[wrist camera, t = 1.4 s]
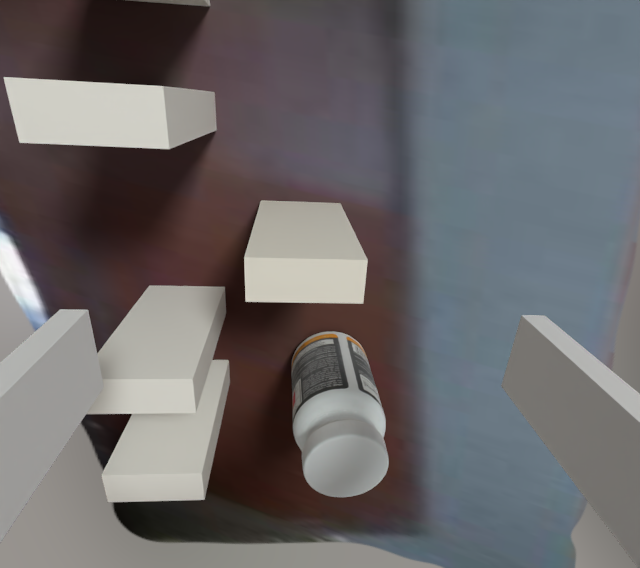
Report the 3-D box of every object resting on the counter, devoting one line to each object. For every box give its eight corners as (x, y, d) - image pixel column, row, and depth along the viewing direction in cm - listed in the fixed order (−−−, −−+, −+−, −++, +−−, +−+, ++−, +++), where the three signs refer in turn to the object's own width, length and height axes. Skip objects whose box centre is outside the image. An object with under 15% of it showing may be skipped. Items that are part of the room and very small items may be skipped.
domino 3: (159, 359, 29) (101, 475, 20) (228, 359, 30) (201, 473, 21) (162, 381, 30) (107, 502, 21) (230, 381, 31) (204, 500, 22)
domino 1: (121, 86, 22) (3, 77, 13) (214, 92, 22) (163, 86, 13) (127, 126, 23) (19, 142, 14) (216, 130, 23) (169, 149, 14)
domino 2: (149, 285, 27) (78, 379, 18) (224, 286, 27) (192, 378, 18) (152, 311, 28) (86, 414, 19) (226, 312, 28) (196, 413, 19)
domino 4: (260, 200, 25) (244, 257, 16) (340, 203, 25) (367, 260, 16) (261, 231, 26) (245, 301, 17) (338, 233, 26) (363, 303, 17)
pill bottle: (287, 387, 31) (286, 503, 22) (296, 324, 29) (299, 425, 20) (358, 392, 32) (385, 507, 23) (372, 331, 30) (408, 431, 21)
